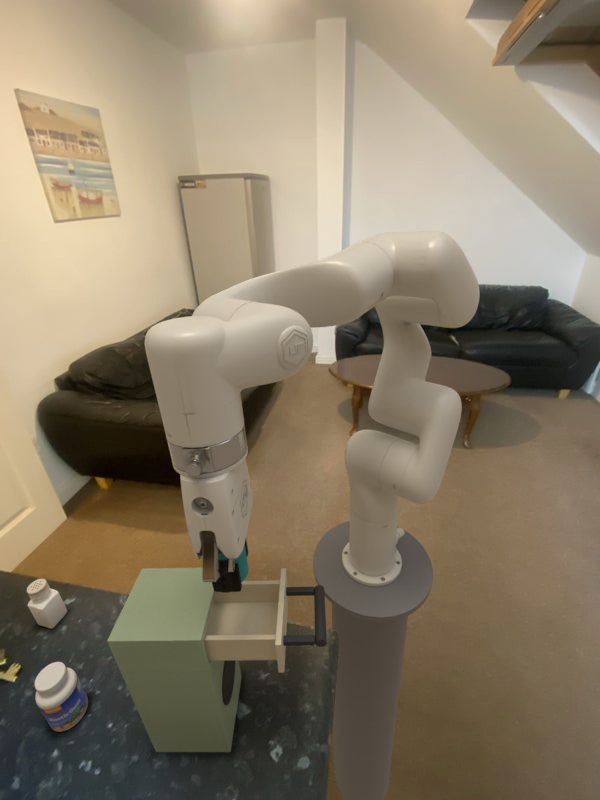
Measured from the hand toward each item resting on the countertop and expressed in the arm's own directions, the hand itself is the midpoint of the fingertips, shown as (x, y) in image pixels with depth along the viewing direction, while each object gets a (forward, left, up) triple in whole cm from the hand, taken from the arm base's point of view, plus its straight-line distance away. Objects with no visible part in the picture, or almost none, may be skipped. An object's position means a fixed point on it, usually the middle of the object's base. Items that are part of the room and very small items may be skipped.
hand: (232, 571), depth 45 cm
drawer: (-2, +2, -11) cm, 11 cm away
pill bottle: (+21, -21, -31) cm, 43 cm away
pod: (0, 0, 0) cm, 0 cm away
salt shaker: (+19, -41, -31) cm, 55 cm away
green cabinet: (+6, -6, -31) cm, 32 cm away
